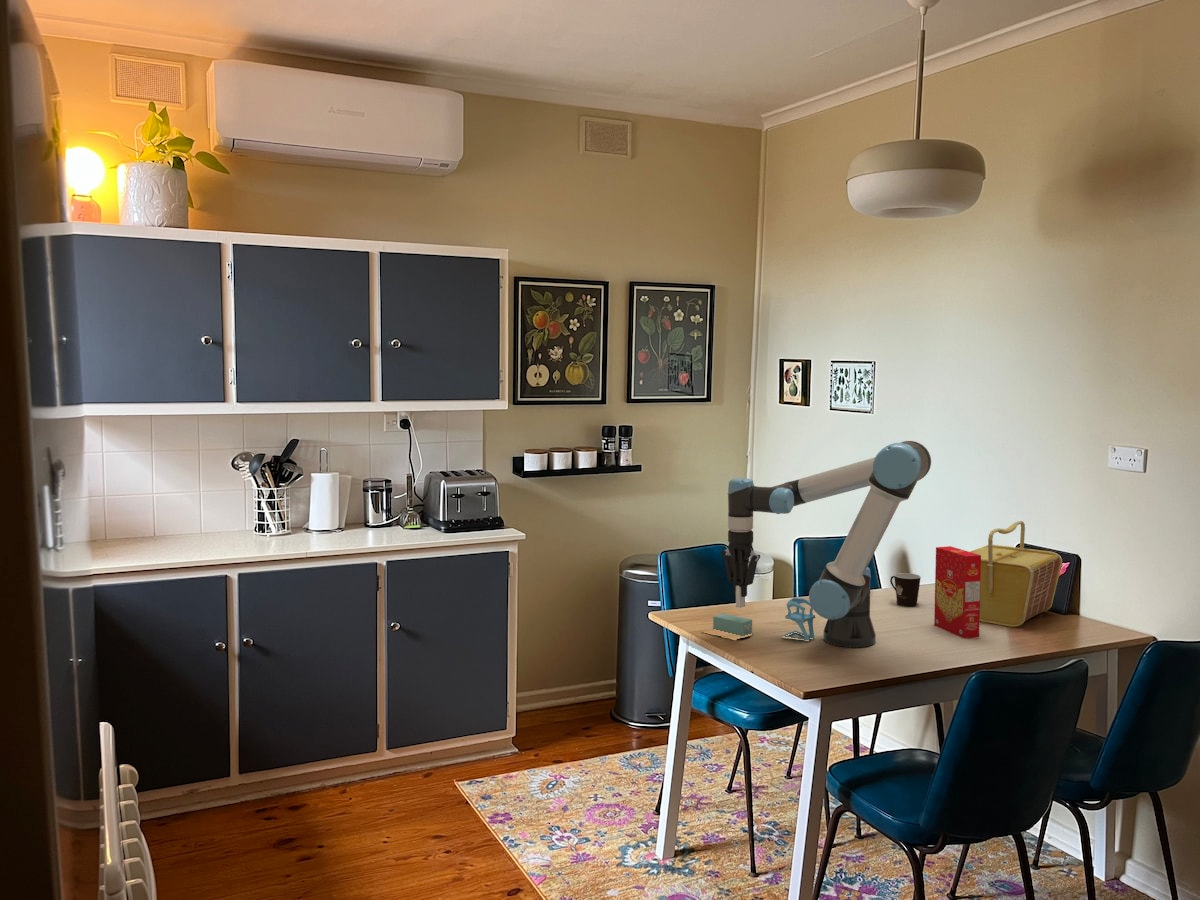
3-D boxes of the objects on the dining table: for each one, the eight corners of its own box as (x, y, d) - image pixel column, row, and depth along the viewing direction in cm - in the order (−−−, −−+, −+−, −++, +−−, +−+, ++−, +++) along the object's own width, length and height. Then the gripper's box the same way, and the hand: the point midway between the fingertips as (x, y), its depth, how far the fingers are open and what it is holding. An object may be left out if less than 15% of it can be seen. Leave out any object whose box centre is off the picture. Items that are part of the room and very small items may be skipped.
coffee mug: (923, 607, 310) (924, 578, 309) (898, 607, 310) (898, 578, 309) (912, 599, 322) (912, 571, 321) (887, 599, 322) (888, 571, 321)
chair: (805, 644, 271) (805, 604, 270) (781, 638, 276) (781, 599, 275) (818, 638, 276) (819, 599, 275) (794, 633, 282) (795, 594, 281)
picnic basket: (982, 600, 318) (985, 515, 316) (1062, 613, 301) (1065, 523, 298) (947, 617, 298) (949, 526, 295) (1030, 632, 280) (1032, 535, 277)
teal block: (752, 619, 278) (723, 613, 286) (742, 623, 274) (713, 616, 282) (752, 635, 278) (723, 628, 286) (742, 639, 275) (713, 632, 283)
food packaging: (934, 625, 289) (935, 547, 286) (948, 624, 290) (950, 546, 288) (963, 638, 274) (965, 556, 272) (979, 637, 276) (981, 555, 274)
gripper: (765, 530, 274) (765, 608, 276) (730, 525, 283) (730, 600, 285) (751, 533, 268) (750, 612, 270) (715, 528, 278) (715, 605, 280)
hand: (740, 606), depth 278 cm, fingers closed
